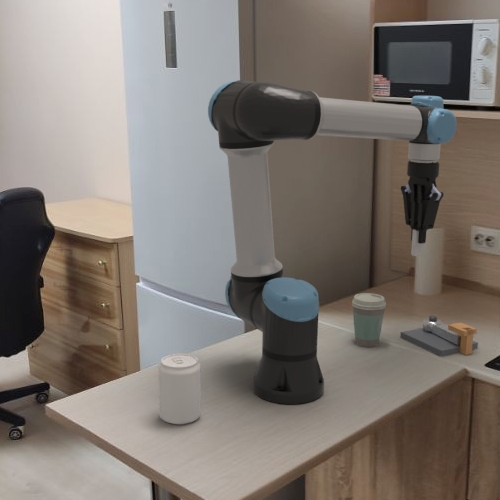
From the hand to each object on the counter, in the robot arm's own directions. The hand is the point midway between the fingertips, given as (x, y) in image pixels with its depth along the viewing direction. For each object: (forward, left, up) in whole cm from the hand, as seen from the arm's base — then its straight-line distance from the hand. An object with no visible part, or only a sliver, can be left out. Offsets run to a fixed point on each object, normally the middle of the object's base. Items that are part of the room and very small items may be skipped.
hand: (417, 255), depth 191 cm
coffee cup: (-12, +3, -22) cm, 26 cm away
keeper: (+5, -12, -22) cm, 26 cm away
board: (+4, -5, -22) cm, 23 cm away
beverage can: (-71, -13, -22) cm, 76 cm away
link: (+6, -5, -20) cm, 22 cm away
